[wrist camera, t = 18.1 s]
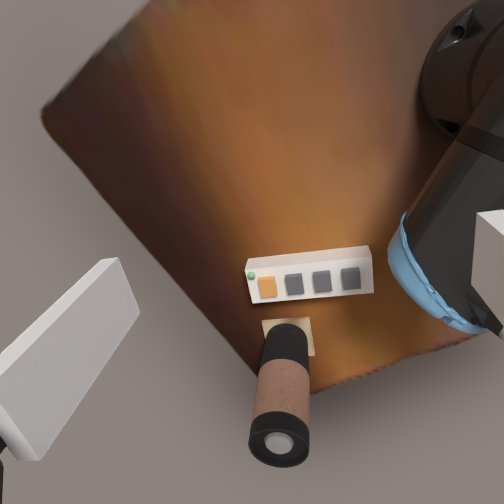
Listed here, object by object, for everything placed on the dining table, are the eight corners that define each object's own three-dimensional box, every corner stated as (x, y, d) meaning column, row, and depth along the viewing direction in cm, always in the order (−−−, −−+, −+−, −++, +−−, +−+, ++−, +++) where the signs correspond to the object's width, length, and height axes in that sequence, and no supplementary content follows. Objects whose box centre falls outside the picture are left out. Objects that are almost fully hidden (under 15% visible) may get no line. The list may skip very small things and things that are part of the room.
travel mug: (316, 348, 61) (320, 462, 43) (277, 361, 64) (265, 473, 46) (297, 315, 58) (292, 422, 41) (256, 329, 61) (236, 435, 43)
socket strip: (368, 245, 52) (373, 259, 48) (370, 280, 54) (375, 296, 50) (248, 258, 56) (243, 273, 52) (255, 290, 58) (251, 306, 54)
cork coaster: (309, 316, 59) (309, 318, 58) (315, 353, 62) (315, 355, 62) (262, 320, 61) (261, 322, 60) (270, 355, 64) (269, 358, 64)
